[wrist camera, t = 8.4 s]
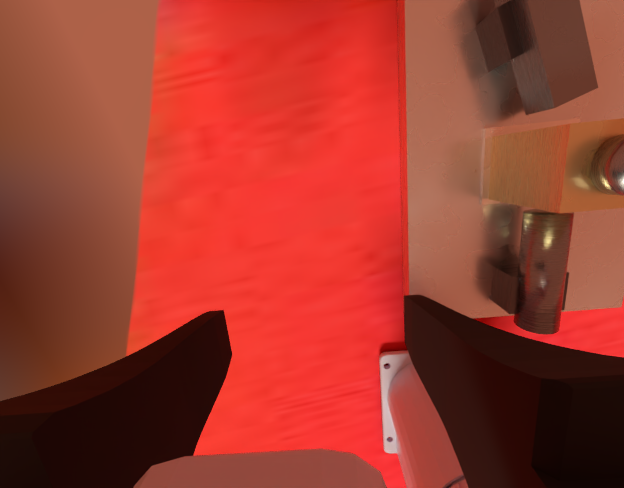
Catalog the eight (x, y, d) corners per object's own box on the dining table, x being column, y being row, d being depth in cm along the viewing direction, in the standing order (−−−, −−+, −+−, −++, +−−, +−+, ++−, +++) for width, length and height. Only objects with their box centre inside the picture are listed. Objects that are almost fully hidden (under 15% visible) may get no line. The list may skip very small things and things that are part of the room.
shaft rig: (600, 297, 21) (676, 332, 17) (403, 312, 22) (425, 350, 17) (656, -40, 16) (787, -119, 11) (396, -7, 17) (425, -69, 12)
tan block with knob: (563, 192, 18) (703, 208, 11) (488, 199, 18) (583, 218, 11) (571, 128, 17) (729, 105, 10) (492, 136, 17) (598, 118, 10)
